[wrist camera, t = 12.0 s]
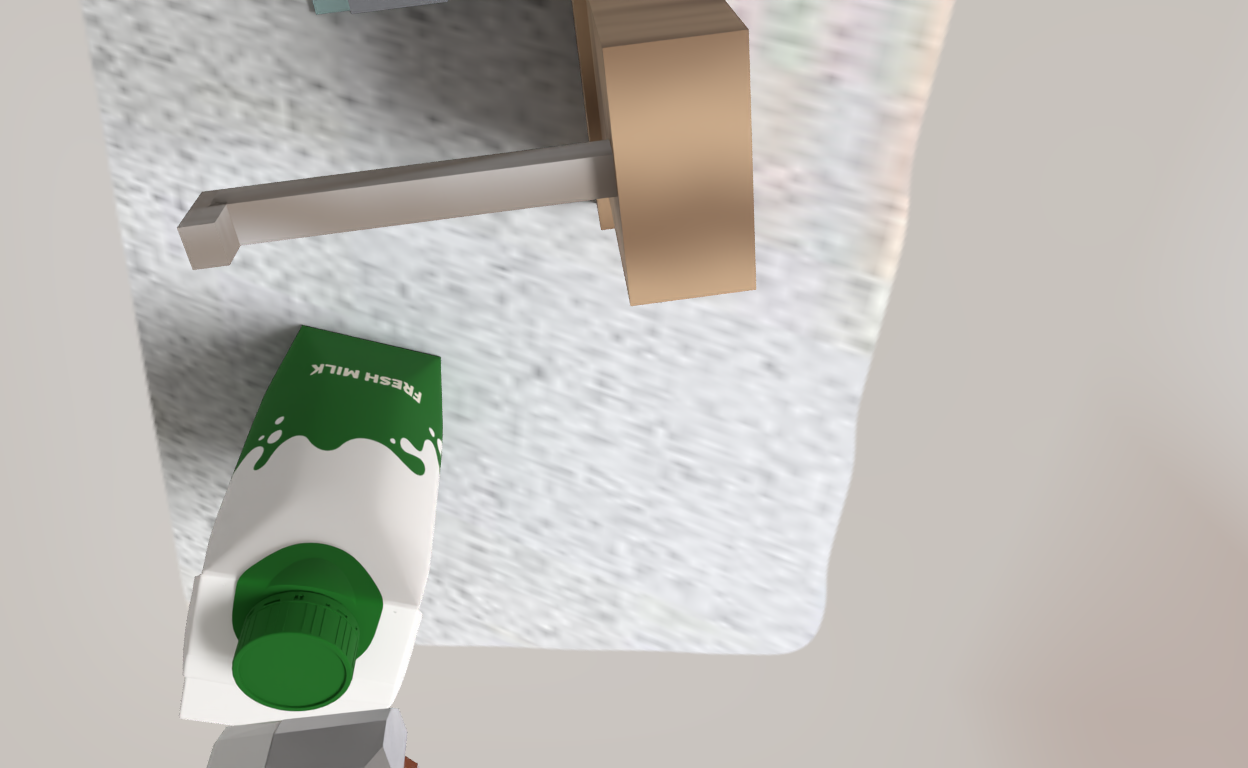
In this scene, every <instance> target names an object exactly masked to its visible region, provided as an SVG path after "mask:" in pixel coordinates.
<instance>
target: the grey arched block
mask: <svg viewBox="0 0 1248 768" xmlns="http://www.w3.org/2000/svg"><path fill="white" fill-rule="evenodd" d="M448 1H449V0H348V3H349V7H350V11H351V14H355V13H363V12H371V11H379V10H387V9H395V8H403V7H410V6H418V5H426V4H434V3H442V2H448Z"/></svg>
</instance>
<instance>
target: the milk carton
mask: <svg viewBox="0 0 1248 768" xmlns="http://www.w3.org/2000/svg"><path fill="white" fill-rule="evenodd" d="M442 435H443V418H442V386H441V357H437V356H433V355H429V354H424V353H420V352H416V351H412V350H407V349H403V348H399V347H394V346H390V345H386V344H381V343H377V342H373V341H368V340H364V339H360V338H355V337H351V336H347V335H342V334H338V333H334V332H329V331H325V330H321V329H316V328H312V327H308V326H304V325H302V327H301V329H300V330H299V332H298V334H297V336H296V338H295V340H294V342H293V343H292V345H291V347H290V349H289V351H288V352H287V354H286V356H285V358H284V360H283V361H282V363H281V365H280V367H279V369H278V371H277V372H276V374H275V376H274V378H273V380H272V382H271V383H270V385H269V387H268V389H267V391H266V393H265V395H264V397H263V400H262V402H261V404H260V407H259V409H258V412H257V414H256V417H255V419H254V421H253V424H252V426H251V429H250V431H249V434H248V437H247V439H246V442H245V444H244V447H243V450H242V452H241V455H240V457H239V460H238V463H237V465H236V468H235V470H234V473H233V476H232V478H231V481H230V483H229V486H228V489H227V491H226V494H225V496H224V499H223V502H222V504H221V507H220V510H219V512H218V515H217V518H216V521H215V523H214V526H213V529H212V532H211V536H210V540H209V543H208V548H207V552H206V557H205V562H204V566H203V570H202V574H200V575H199V576H195V579H194V585H193V592H192V596H191V601H190V605H189V610H188V616H187V623H186V629H185V638H184V648H183V676H184V677H185V680H184V686H183V692H182V700H181V707H180V714H179V717H180V718H181V719H187V720H195V721H203V722H211V723H218V724H225V725H233V726H237V725H245V724H254V723H262V722H270V721H279V720H284V719H293V718H302V717H311V716H320V715H330V714H339V713H348V712H357V711H367V710H376V709H385V708H389V706H390V705H392V703H393V701H394V699H395V697H396V695H397V693H398V691H399V688H400V686H401V684H402V681H403V678H404V675H405V672H406V669H407V666H408V663H409V660H410V657H411V654H412V650H413V647H414V643H415V639H416V635H417V631H418V628H419V625H420V622H421V618H422V613H421V612H420V611H419V607H420V604H421V601H422V598H423V594H424V590H425V586H426V583H427V579H428V574H429V569H430V561H431V554H432V544H433V535H434V525H435V516H436V506H437V496H438V486H439V477H440V467H441V456H442Z"/></svg>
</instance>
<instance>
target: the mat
mask: <svg viewBox="0 0 1248 768" xmlns="http://www.w3.org/2000/svg"><path fill="white" fill-rule="evenodd" d="M313 4H314V8H315V12H316V15H317V14H325V13H333V12H341V11H349V10H350V7H349V3H348V0H313Z"/></svg>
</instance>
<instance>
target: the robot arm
mask: <svg viewBox="0 0 1248 768" xmlns="http://www.w3.org/2000/svg"><path fill="white" fill-rule="evenodd" d="M406 741H407V730H406V727H405V724H404V722H403V719H402V716H401V713H400V711H399V709H398V708H385V709H376V710H367V711H357V712H348V713H339V714H330V715H320V716H311V717H302V718H293V719H284V720H279V721H270V722H262V723H254V724H245V725H237V726H229V727H226V728H225V730H224V731H223V732H222V734H221V735H220V737H219V738H218V740H217V741H216V742H215V744H214V746H213V749H212V752H211V755H210V758H209V762H208V765H207V768H419V766H418V763H416V762H414V761H412V760H411V759H409V758H408V757H406V756H405V750H406Z"/></svg>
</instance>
